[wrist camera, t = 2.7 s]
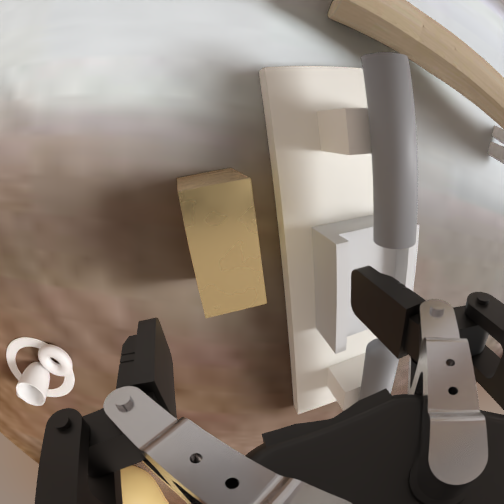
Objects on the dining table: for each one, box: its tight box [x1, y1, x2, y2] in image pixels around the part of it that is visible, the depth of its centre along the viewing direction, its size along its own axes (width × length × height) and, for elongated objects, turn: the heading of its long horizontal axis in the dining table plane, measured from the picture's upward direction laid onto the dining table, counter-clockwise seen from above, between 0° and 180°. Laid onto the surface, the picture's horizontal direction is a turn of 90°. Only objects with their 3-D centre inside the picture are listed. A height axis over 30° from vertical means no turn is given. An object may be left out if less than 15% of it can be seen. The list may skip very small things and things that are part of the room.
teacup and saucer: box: [6, 337, 75, 406], centre depth 22 cm, size 9×8×4 cm
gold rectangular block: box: [177, 168, 267, 318], centre depth 21 cm, size 4×8×6 cm, turn 8°
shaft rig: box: [259, 52, 419, 414], centre depth 24 cm, size 12×34×8 cm, turn 8°
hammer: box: [327, 0, 504, 164], centre depth 19 cm, size 16×5×30 cm
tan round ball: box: [120, 465, 169, 504], centre depth 27 cm, size 11×12×11 cm
